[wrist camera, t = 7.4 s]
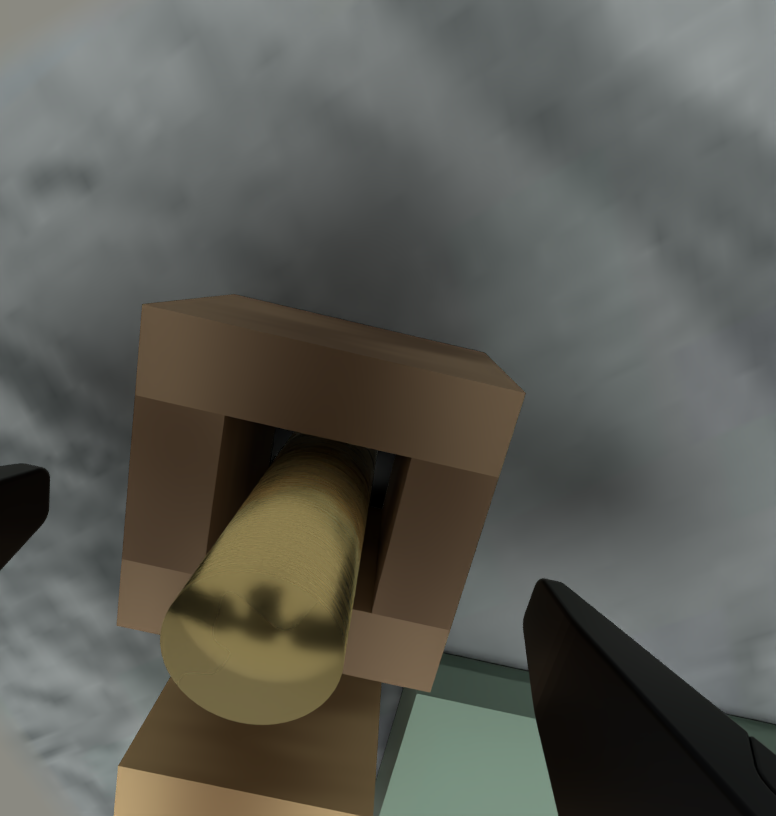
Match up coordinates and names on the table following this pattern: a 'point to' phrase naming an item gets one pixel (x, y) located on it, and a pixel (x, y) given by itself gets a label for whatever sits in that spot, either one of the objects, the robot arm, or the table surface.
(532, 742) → the green tray
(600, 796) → the robot arm
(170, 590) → the walnut block
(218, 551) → the brass pin
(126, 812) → the oak block
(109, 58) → the table surface
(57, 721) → the table surface
